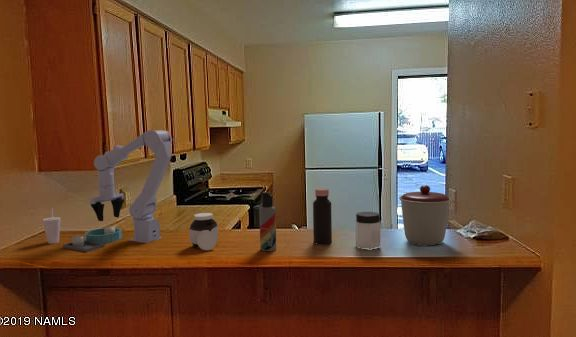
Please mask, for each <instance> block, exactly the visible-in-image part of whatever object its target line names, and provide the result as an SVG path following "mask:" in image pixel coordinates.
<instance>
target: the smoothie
mask: <svg viewBox="0 0 576 337" xmlns="http://www.w3.org/2000/svg"><path fill="white" fill-rule="evenodd" d="M50 211H51V217H46V218H43V219H42V223H43V228H44V231H45V236H46V241H47V244H57V243H59V242H60V228H61V221H62V218H61V217H60V216H59V217H58V216H54V207H51V209H50Z"/></svg>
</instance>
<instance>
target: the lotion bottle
mask: <svg viewBox="0 0 576 337" xmlns="http://www.w3.org/2000/svg"><path fill="white" fill-rule="evenodd" d="M273 203H274V202H273V193H269V194H261V206H260V207H259V210H258V213H259V214H258V215H259V243H260V244H259V246H260V251H261V250H262V252H265V251H270V252H273V251H274V250H275V251H276V250H277V221H276V220H277V218H276V216H277V215H276V212H277V211H276V207H275V206H274V204H273Z"/></svg>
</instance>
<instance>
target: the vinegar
mask: <svg viewBox="0 0 576 337" xmlns="http://www.w3.org/2000/svg"><path fill="white" fill-rule="evenodd" d="M329 191H330V189H328V188H316V189H315V190H314V192H315V197H316V199H314V201H313V203H312V206H313V207H312V216H313V217H312V221H313V222H312V224H313V227H312V228H313V243H314V244H315V243H317V244H316V245H319V244H327V245H330V244H332V241H333V240H332V239H333V236H332V235H333V234H332V232H333V230H332V227H333V226H332V201H331V200H330V199H328V198H329V194H330V192H329ZM329 243H330V244H329Z"/></svg>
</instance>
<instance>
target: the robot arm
mask: <svg viewBox="0 0 576 337" xmlns="http://www.w3.org/2000/svg"><path fill="white" fill-rule="evenodd" d="M172 142H173V139H172V136H171V135H170V133H169V131H167V130H165V129H161V130H159V129H157V130H155V129H153V130H152V129H150V130H147V131H146V132H142V133H141V134H140V135H138V136H137V137H135V138H134V139H133V140H131V141H129V142H128V143H127V144H125V145H124V146H123V145H115V146H113V149H110V150H108V151H105V152H104V154H103V155H97V156H96V157H95V158H94V159H93V160H94V161H93V166H94V167H95V169H96V170H97V178H98V179H97V180H98V181H97V182H98V193H99V196H95V197H93V198H90V199H89V204H90V206H91V208H92V210H93V212H94V214H95V215H96V217H97V221H98V222H104V209H105V204H104V202H109V201H110V203H111V206H112V209H113V210H112V211H113V212H112V213H113V217H114V218H119V217H120V214H121V209H122V206H123V204H124V202H125V200H124V198H125V197H124V196H125V195H124V193H116V191H115V177H114V176H115V175H114V172H115V167H116V166H117V165H118V164H120V163H121V162H123V161H125V160H127V159H128V158H129V155H130V153H132V152H135V151H136V150H138V149H140V148H142V147H144V146H147V147H148V148H149V150H150V151H151V152H152V153H153V155H154V156H155V157H154V160H153V162H152V165H151V168H150V170H149V172H148V175H147V178H146V180H145V183H144V185H143V187H142V189H141V192H140V194H139V195H137V196H136V198H135V199H134V201H133V202H132V203H131V205H130V206H129V208H128V212H129V216H131V217H132V219H133V232H134V238H131V239H129V241H130V242H137V243H143V244H144V243H145V244H149V243H150V242H154V241H157V240H161V239H162V237H161V230H160V229H161V227H160V222H159V220H158V219H156V218H154V212H155V211H156V209H157V207H156V206H157V205H156V204H157V201H158V199H157V198H156V195H157V193H158V190H159V188H160V186H161V183H162V180H163V178H164V176H165V173H166V171H167V169H168V166H169V164H170V161H171V160H172Z"/></svg>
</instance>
